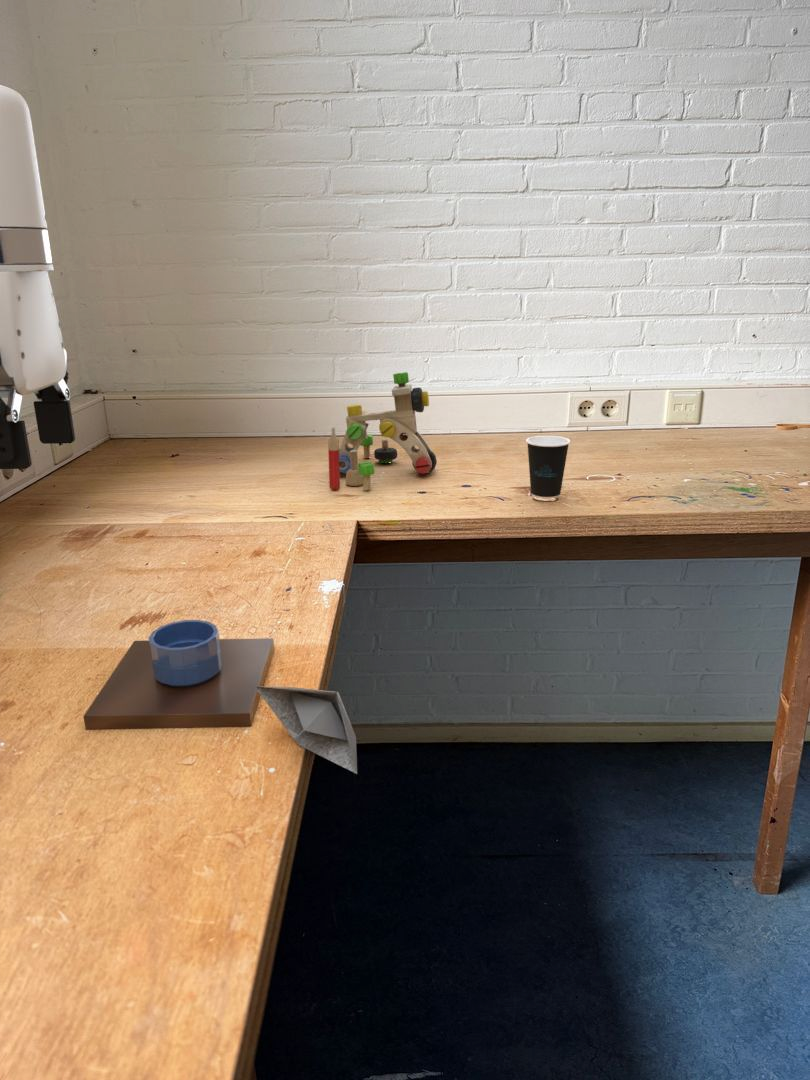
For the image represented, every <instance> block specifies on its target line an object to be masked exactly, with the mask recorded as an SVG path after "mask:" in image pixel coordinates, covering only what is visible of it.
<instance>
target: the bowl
mask: <svg viewBox="0 0 810 1080" xmlns="http://www.w3.org/2000/svg"><path fill="white" fill-rule="evenodd" d="M219 639H220V633H219V629H218V627H217V625H216V624H214V623H212V622H211V621H207V620H201V619H184V620H178V621H173V622H169V623H166V624H164V625H161V626H159V627H157V628H156V629H155V630H153V631H152V632H151V633H150V635H149V636H148V641H149V645H150V652H151V660H152V667H153V674H154V677H155V679H156V680H158V681H159V682H161V683H163V684H167V685H170V686H175V687H186V686H193V685H197V684H200V683H203V682H205V681H207V680H209V679H210V678H211V677H213V676H214V675H215V674H217V673H218V672H219V671H220V668H221V666H222V662H221V652H220V642H219Z"/></svg>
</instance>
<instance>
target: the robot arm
mask: <svg viewBox="0 0 810 1080" xmlns="http://www.w3.org/2000/svg"><path fill="white" fill-rule="evenodd" d="M31 117H32V116H31V112H30V107H29V105H28V103H27V101H26V99H25V98H24V97H23V96H22V95H21V93H20V92H18V91H16V90H15V89H13V88H10V87H8V86H6V85H1V84H0V470H27V469H28V468H31V466H32V464H33V462H32V457H31V450H30V445H29V440H28V434H27V433H28V432H27V428H26V421H25V420H19V419H20V414H21V413H20V412H21V407H22V402H23V396H26V395H30V394H34V395H35V397H36V399H37V400H35V401H33V408H34V413H35V420H36V427H37V432H38V439H39V442H40V443H41V444H44V445H46V444H49V445H50V444H51V445H52V444H54V445H55V444H72V443H74V442H75V441H76V435H75V434H76V433H75V428H74V427H75V426H74V422H73V421H74V420H73V414H72V408H71V401H70V398H71V392H70V391H71V390H70V389H69V387H68V386H69V385H68V381H69V380H68V379H69V378H70V377H69V374H70V373H69V372H68V371H67V361H68V360H67V359H68V355H67V354H68V353H67V350H66V348H65V347H64V346H65V345H64V339H63V334H62V329H61V324H60V323H61V322H60V319H59V315H58V310H57V304H56V300H55V296H54V292H53V288H52V284H51V280H50V277H49V272H54V271H55V269H54V264H53V263H54V262H53V261H54V260H53V255H52V249H51V242H50V236H49V230H48V223H47V217H46V216H47V215H46V210H45V202H44V195H43V191H42V190H43V188H42V183H41V177H40V170H39V169H40V168H39V163H38V156H37V149H36V144H35V143H36V142H35V136H34V129H33V123H32V118H31ZM5 398H6V399H7V401H6V402H5V401H4V400H3V399H5Z"/></svg>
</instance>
